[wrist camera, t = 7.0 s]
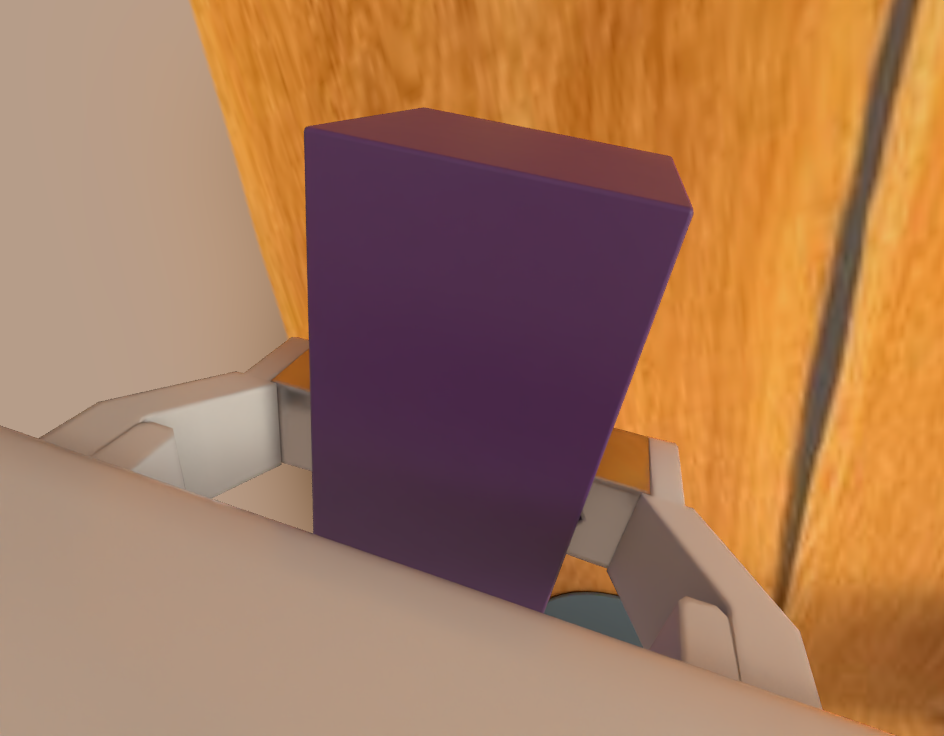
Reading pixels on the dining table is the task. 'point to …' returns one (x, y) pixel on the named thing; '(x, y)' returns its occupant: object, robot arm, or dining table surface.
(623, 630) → the cocktail glass
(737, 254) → the dining table surface
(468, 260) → the purple rectangular block
